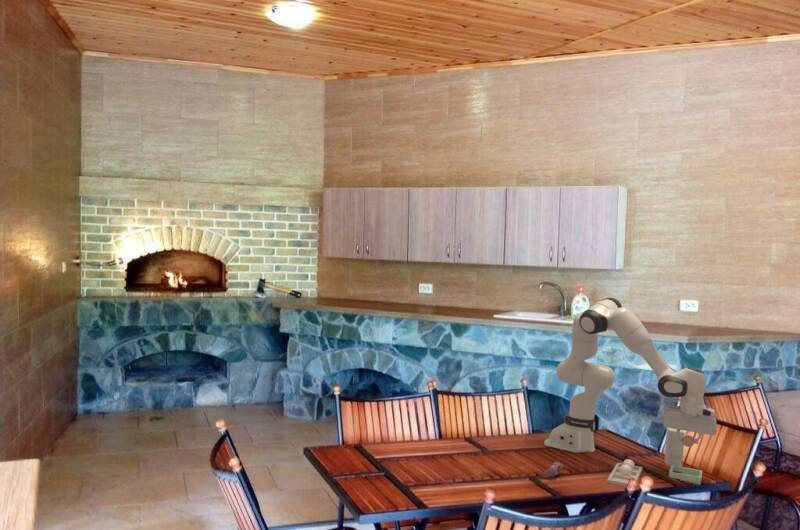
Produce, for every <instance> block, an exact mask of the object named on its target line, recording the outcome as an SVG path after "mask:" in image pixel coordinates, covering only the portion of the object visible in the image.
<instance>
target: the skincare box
mask: <svg viewBox="0 0 800 530" xmlns="http://www.w3.org/2000/svg"><path fill="white" fill-rule="evenodd" d="M676 430H677V429H672V428H666V431H665V432H666V433H665V434H666V435H665V446H664V447H665V449H664V462H663V463H664V464H665V465H666V466H667V467H671V465H674V466H680V467H683V461H684V450H685V449H684V447H685V445H684V444H683V442H682V441H679V436H678V434H677V432H676ZM685 432H686V431H684V430H680V432H679V433H680V435H681V436H683V437H684V436H686V435H685V434H686V433H685Z"/></svg>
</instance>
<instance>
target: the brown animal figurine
mask: <svg viewBox="0 0 800 530" xmlns="http://www.w3.org/2000/svg"><path fill="white" fill-rule="evenodd" d="M563 466H564V465H563V464H562V463H560V462H559V461H557V462H553V463H552V464H551V465H550V467H549V468H547V469H546V470H544V471H542V473H541V474H540V476H541V478H542V479H549V478H551V479H553V478H554V477H556V476H557V475H558V474H559V472H560V471H561V470H562V468H563Z"/></svg>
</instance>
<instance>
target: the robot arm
mask: <svg viewBox="0 0 800 530" xmlns="http://www.w3.org/2000/svg"><path fill="white" fill-rule="evenodd" d="M571 329H572V330H571V341H572V342H571V352H570V353H569V355H568V356H567V357H566V358H564V359H563V360H562V361H561V362H559V363H558V365H557V367H556V376H557V378H558V380H559V381H560V382H562V383H565V384H568V385H570V386H578V387H583V388H584V391H583V392H581V393H577V394H575V395H573V396H572V397H571V398H570V400H569V401H570V402H569V411H568V413H566V414H565V415H564V418H563V423H561V424H559V425H558V426H556V427H554V428H553V429H552V430H551V432H550V435H549V438H546V439H545V440H544V441H543V445H544V446H545V447H546V446H547V447H549V448H555V449H559V450H562V451H567V452H571V453H578V454H579V453H587V452H590V453H593V452H595V451H596V449H595V441H594V440H595V439H594V432H595V429H596V428H595V427H596V419H595V414H596V405H597V402H598V400H599V398H600V396H601V395H602V394H604V392H605V391H607V390H609V389H611V387H612V386H613V385H614V382H615V381H616V375H615V372H614V370H613V369H612V367H610V366H607V365H604V364H600V363H593V362H588V361H586V360H590V359H592V358H593V357H595V356H596V355H597V353H598V351H599V340H598V339H599V335H598V334H601V333H605V332H607V330H608V329H610V330H612V331H614V333H615V334H616V335H617V338H618V339H620V341H621V342H622V344H623V345H624V346H625V347H626V348H627V349H628V350H629V352H631V353H633V354H636V355H638V356H639V357H641V358H642V359H644V361H645V362H646V363H647V365H648V366H649V368H650V369H651V370H652V371H653V373H654V374H655V375H656V377H657V390H658V391H659V392H660V394H661V395H662V396H664V397H666V398H680V401H679V405H672V404H668V405H665V406H664V408H663V414H664V417H663V424H662V425H663V427H664V428H666V429H667V428H672V429H677V430H676V432H677V434H678V436H679V441H682V439H683V436H681V435H680V433H679V432H680V430H683V431H684V432H690V433H691V432H692V433H697V438H696V437H695V438H694V444H697V445H698V444H699V440H700V439H701V437H702V436H703V435H710V436H715V435H716V434H717V431H718V427H717V418H716V417H715V415H716V411H715V409H714V408H711V407H710V406H707V405H706V404H705V400H704V395H705V393H706V382H707V381H706V374H705V373H704V372H703V371H702V370H700V369H699V368H696V367H692V366H691V367H690V366H686V367H684V368H682V369H680V370H676V369H674V368H672V367H671V366H670V365H669V364H668V363H667V362H666V361H665V359H664V358H663V357H662V355H661V354H660V353H659V352H658V350H657V348H656V347H655V344H654V342H653V340H652V336H650V333H649V331H648V330H647V329H646V326H644V324H643V322H642V321H641V320H640V319H639V318H638V317H637V315H636V314H635V313H633V311H632V310H630V309H629V308H628V307H625V306H622V303H621V302H620V301H619V300H618V299H616V298H614V297H607V298H603V299H602V300H600V301H598V302H595V303H594V304H593V305H591V306H590V307H588V309H587V310H584V311H582V312H581V311H580V312H578V313H577V314H576V315H574V318H573V321H572V328H571Z"/></svg>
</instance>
